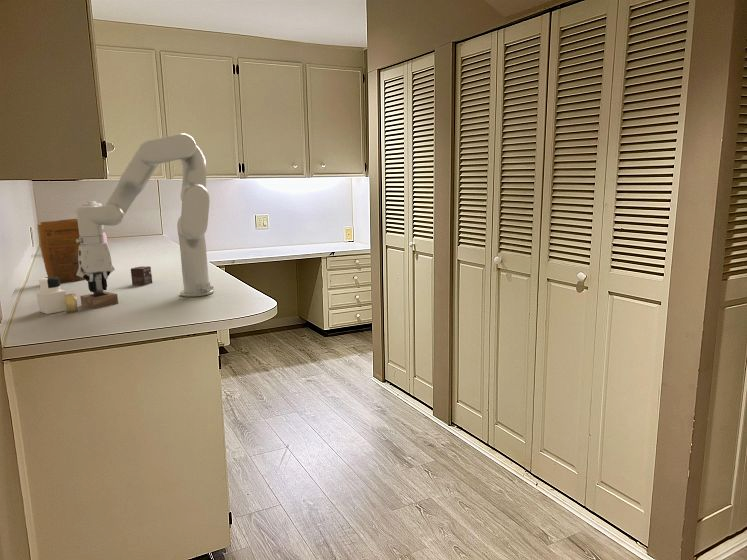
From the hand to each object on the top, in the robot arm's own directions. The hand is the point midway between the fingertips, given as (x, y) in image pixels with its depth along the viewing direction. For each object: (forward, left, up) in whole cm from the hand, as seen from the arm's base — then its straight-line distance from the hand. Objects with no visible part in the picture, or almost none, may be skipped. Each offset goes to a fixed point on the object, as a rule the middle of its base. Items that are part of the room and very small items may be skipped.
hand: (98, 290), depth 199 cm
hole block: (0, 0, -5) cm, 5 cm away
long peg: (0, 0, -4) cm, 4 cm away
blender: (+150, -74, -5) cm, 167 cm away
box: (+23, -30, -6) cm, 38 cm away
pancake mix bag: (+60, -16, -5) cm, 62 cm away
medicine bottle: (+5, +14, -5) cm, 16 cm away
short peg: (-2, +11, -5) cm, 12 cm away
